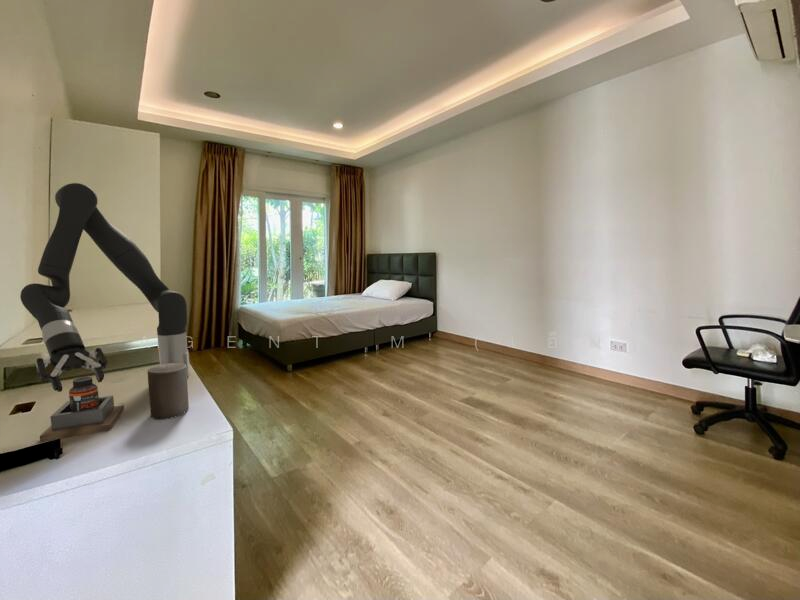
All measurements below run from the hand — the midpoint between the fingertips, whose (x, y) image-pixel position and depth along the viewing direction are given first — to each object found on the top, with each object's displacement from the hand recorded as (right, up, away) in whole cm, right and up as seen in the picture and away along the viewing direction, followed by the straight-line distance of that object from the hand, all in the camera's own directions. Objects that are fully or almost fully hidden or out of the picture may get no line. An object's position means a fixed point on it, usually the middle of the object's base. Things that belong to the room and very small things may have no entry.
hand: (81, 385), depth 98 cm
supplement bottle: (+1, -10, +1) cm, 10 cm away
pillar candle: (+19, -10, +8) cm, 23 cm away
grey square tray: (+1, -9, 0) cm, 9 cm away
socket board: (+1, -11, +1) cm, 11 cm away
